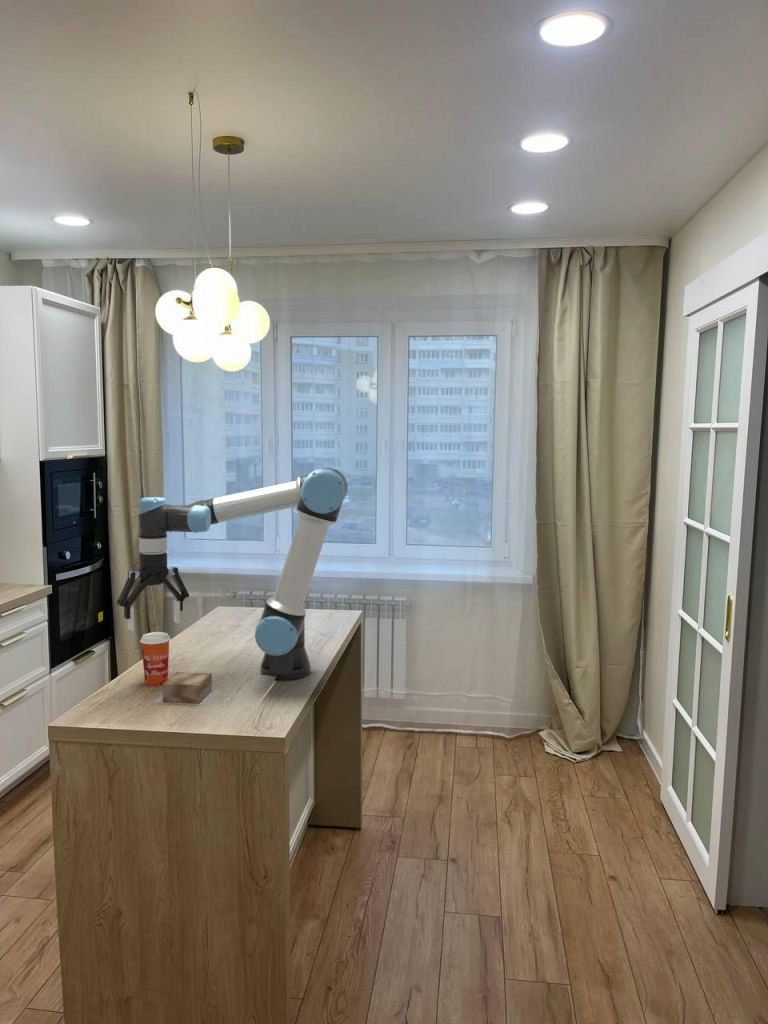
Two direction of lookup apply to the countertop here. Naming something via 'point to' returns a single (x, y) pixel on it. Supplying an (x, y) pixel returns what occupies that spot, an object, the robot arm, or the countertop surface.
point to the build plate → (204, 702)
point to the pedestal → (187, 688)
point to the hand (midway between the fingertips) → (154, 626)
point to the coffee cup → (155, 657)
